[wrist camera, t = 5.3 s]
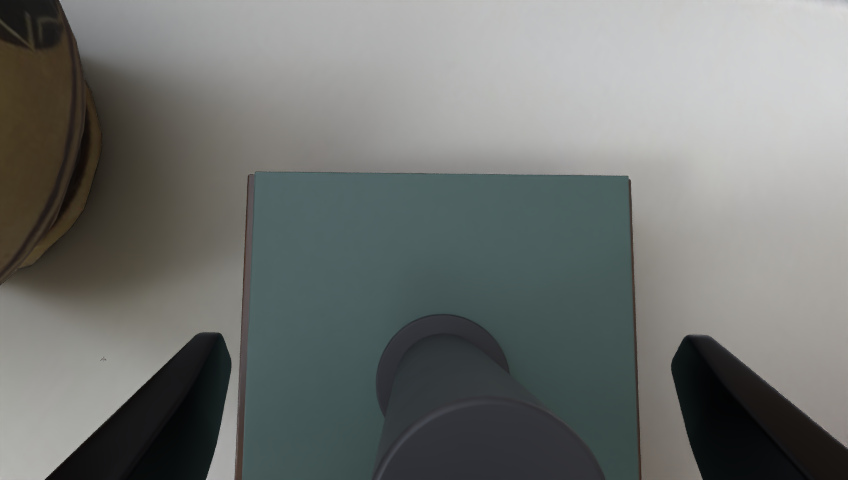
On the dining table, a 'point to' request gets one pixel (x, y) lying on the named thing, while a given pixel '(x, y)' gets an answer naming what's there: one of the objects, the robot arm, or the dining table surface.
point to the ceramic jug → (41, 131)
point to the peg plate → (440, 328)
